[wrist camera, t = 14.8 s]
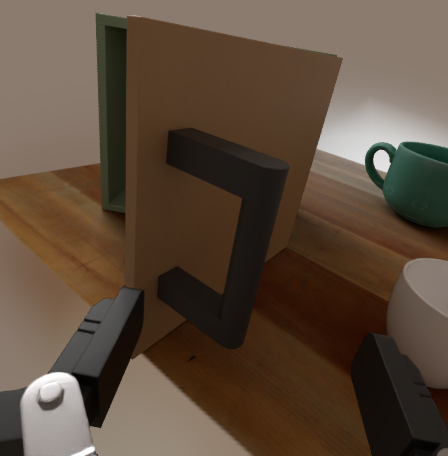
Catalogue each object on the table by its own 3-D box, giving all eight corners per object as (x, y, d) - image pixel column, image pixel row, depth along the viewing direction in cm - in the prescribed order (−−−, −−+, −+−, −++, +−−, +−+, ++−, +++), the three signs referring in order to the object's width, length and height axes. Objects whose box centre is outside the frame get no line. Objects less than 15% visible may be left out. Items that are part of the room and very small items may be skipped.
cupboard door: (338, 271, 33) (419, 71, 24) (201, 424, 18) (281, 37, 9) (281, 243, 36) (334, 56, 27) (124, 352, 21) (126, 14, 12)
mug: (473, 223, 50) (508, 164, 46) (455, 249, 42) (497, 179, 37) (369, 184, 59) (390, 131, 55) (337, 198, 51) (359, 137, 46)
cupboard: (283, 242, 36) (337, 55, 27) (101, 209, 37) (95, 12, 28) (278, 196, 48) (315, 53, 39) (139, 171, 48) (143, 23, 39)
